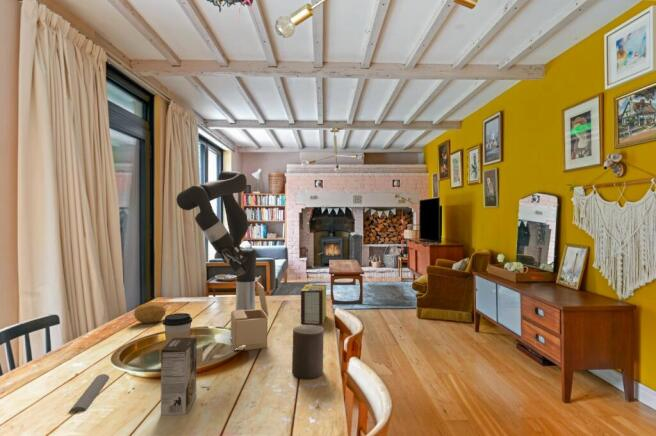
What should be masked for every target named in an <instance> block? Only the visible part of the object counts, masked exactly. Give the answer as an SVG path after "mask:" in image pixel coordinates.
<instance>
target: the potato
mask: <svg viewBox="0 0 656 436" xmlns="http://www.w3.org/2000/svg"><path fill="white" fill-rule="evenodd" d="M166 312H167V310H166V308H165V307H164V305H163V304H162V303H158V302H156V301H148V302H146V303H143V304H140V305H138V306H137V307H136V309H135V310H134V312H133V314H134V318H135V320H136V321H137V322H139V323H142V324H152V323H153V324H154V323H156V322H157V323H158V322H160V321H161V320H163V318H165V317H166Z"/></svg>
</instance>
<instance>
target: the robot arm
mask: <svg viewBox="0 0 656 436" xmlns="http://www.w3.org/2000/svg"><path fill="white" fill-rule="evenodd" d="M247 182H248V181H247V177H246V174H245V173H243V172H239V171H233V170H232V171H231V170H222V171H220V173H219V174H218V177H217V180H211V181H207V182H204V183H201V184H199V185H198V184H194V185H191V186H190V187H188V188H187V189H185V190H182V191H181V192H179V193H178V194H177V196H176V205H177V206H178V207H179V208H180V209H181V210H184V211H191V210H193V209H195V208H197V207H198V208H199V213H197V214H196V216H195V217H194V220H195V222H196V223H197V225H198V227H200V230H201V231H202V233H203V234H204V236H205V237H206V240H208V242H209V243H210V245H211V246H212V247H213V249H214V250H215V252H217V254H218V255H219V257H220V258H221V260H222V261H223V262H224V264H227V265H229V266H230V268H231V269H232V271H233V272H234V273H235V272H237V271H239V270H240V268H242V270H243V273H242V272H241V273H239V274H237V275H236V276H235V277H236V278H235V279H236V280H235V281H236V285H235V288H236V289H235V291H236V292H235V310H254V309H256V268H257V267H256V266H257V253H256V252H257V251H256V250H255V248H241V242H242V240H243V239H244V237H245V235H246V234H247V232H248V230H249V222H248V221H249V220H248V215H247V213H246V212H245V210H244V209H243V207H242V206H241V205H240V204H239V202H238V201H237V200H236V198H235V196H234V194H240V193H242V192H244V191H245V190H246V187H247V184H248V183H247ZM219 198H221V200H222V202H223V203H222V204H223V206H224V210H225V215H226V223H227V228H228V229H227V228H226V226H225V224H224V223H222V222H221V220H220V219H219V217H218V216H217V214H216V213H215V211H214V209H213V206H212V203H211V201H214V200H216V199H219Z"/></svg>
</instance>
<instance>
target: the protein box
mask: <svg viewBox="0 0 656 436" xmlns="http://www.w3.org/2000/svg"><path fill="white" fill-rule="evenodd" d="M326 317H327V285H326V284H305V285H304V287H302V288H301V290H300V324H301V325H323V324H324V322H325V319H326Z"/></svg>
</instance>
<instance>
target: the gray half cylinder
mask: <svg viewBox="0 0 656 436" xmlns="http://www.w3.org/2000/svg"><path fill="white" fill-rule="evenodd" d="M109 379H110V376H109V375H108V374H106V373H101V374H99V375H97V376H96V377H95V378H94V380H93V381H92V382H91V383H90V385H89V386H88V387H87V388H86V389H85V391H84V392H83V393H82V395H80V397H79V398H78V400H77V401H76V402H75V403H74V404H73V406H72V407H71V408H70V410H69V411H68V413H74V412H82V411H88V409H89V408H90V406H91V405H92V403H93V402H94V401H95V400H96V398H97V396H98V395H99V394H100V392H101V390H102V389H103V388H104V387H105V386H106V384H107V382H108V381H109Z"/></svg>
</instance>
